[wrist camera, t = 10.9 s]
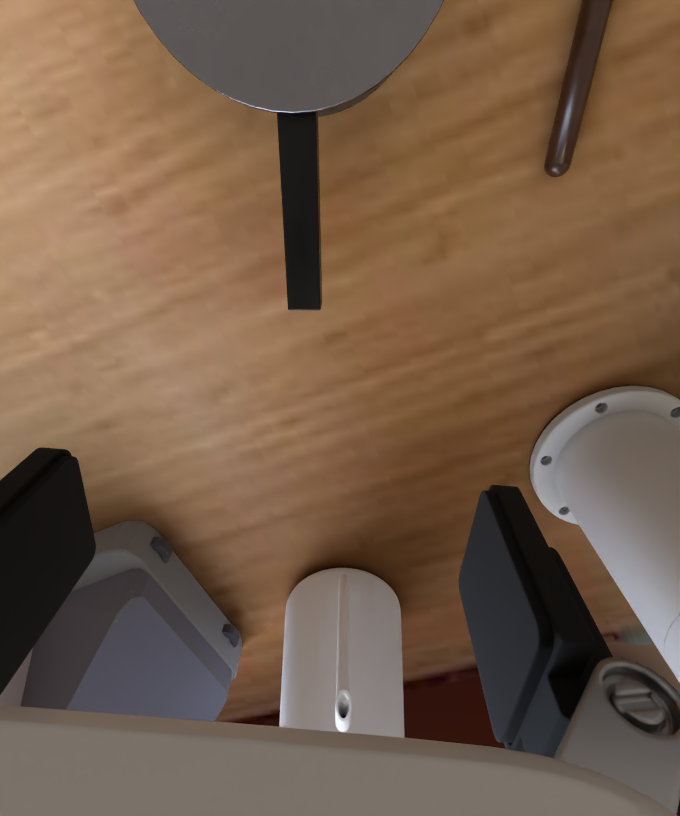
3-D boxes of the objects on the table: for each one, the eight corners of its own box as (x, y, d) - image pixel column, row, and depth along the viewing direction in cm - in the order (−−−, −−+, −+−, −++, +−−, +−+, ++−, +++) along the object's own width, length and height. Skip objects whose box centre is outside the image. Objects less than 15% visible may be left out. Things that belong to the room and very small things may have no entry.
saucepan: (452, -241, 21) (517, -495, 13) (415, 284, 31) (438, 325, 23) (141, -235, 21) (13, -481, 13) (209, 284, 31) (162, 325, 24)
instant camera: (-27, 551, 43) (-194, 723, 30) (180, 509, 40) (97, 679, 27) (86, 688, 53) (-3, 865, 39) (260, 662, 50) (228, 843, 37)
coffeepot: (410, 497, 39) (455, 741, 23) (391, 680, 51) (412, 932, 34) (281, 494, 40) (231, 736, 23) (291, 678, 51) (263, 927, 34)
